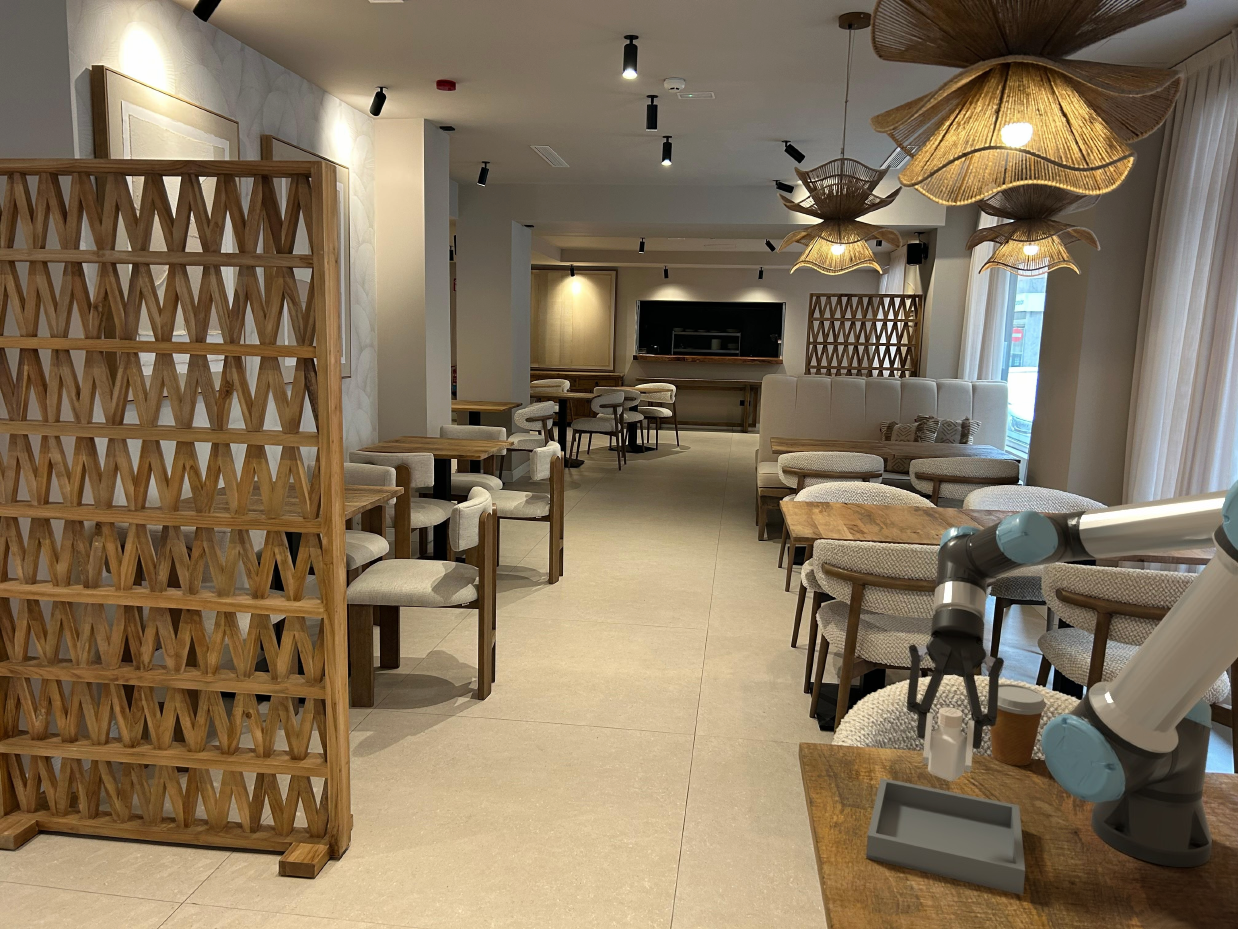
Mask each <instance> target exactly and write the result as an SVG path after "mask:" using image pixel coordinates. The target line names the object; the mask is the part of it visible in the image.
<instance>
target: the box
mask: <svg viewBox="0 0 1238 929" xmlns="http://www.w3.org/2000/svg"><path fill="white" fill-rule="evenodd" d="M1020 812H1021V811H1020V805H1018V804H1014V803H1008V802H1003V801H1000V800H999V801H998V800H995V799H994V800H993V799H989V798H983V797H978V796H973V795H970V794H969V795H968V794H964V793H959V792H953V791H947V790H943V789H938V788H933V787H927V786H924V785H919V784H914V783H909V782H908V783H907V782H904V781H898V780H894V779H888V778H883V777H880V780H879V785H878V788H877V791H876V797H875V800H874V807H873V810H872V813H871V814H872V815H871V817H870V818H871V819H870V822H869V827H868V831H867V837H866V838H867V840H866V854H865V855H866V856H865V859H866V860H867V859H868V860H872V861H876V862H879V863H883V864H888V865H892V866H893V865H894V866H897V867H901V868H905V869H909V870H915V871H918V872H923V873H926V874H931V875H936V876H940V877H944V878H949V879H952V880H957V881H960V882H966V883H969V884H974V885H977V886H978V885H979V886H982V887H986V888H987V887H988V888H992V889H994V890H995V889H996V890H1000V891H1003V892H1008V893H1013V894H1017V895H1021V896H1024V888H1025V878H1026V875H1025V874H1026V864H1025V855H1024V853H1025V852H1024V845H1023V844H1024V842H1023V835H1022V823H1021V813H1020Z"/></svg>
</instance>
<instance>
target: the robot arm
mask: <svg viewBox="0 0 1238 929" xmlns="http://www.w3.org/2000/svg"><path fill="white" fill-rule="evenodd" d="M1204 549H1215V550H1216V553H1215V554H1214V555H1213V556H1212V557H1211V559H1210V560H1209V561H1208V563H1207V564H1206V565H1205V566H1204V568H1202V570H1200V573H1199V574H1198V575H1197V576H1196V577H1195V579H1194V580H1193V581H1192V583H1191V584H1190V585H1189V586H1188V587H1187V589H1186V590H1185V591H1184V592H1183V594H1181V596H1180V597H1179V598H1178V600H1177V601H1176V602H1175V604H1174V605H1173V606H1172V607H1171V609H1170V610H1169V611H1168V612H1167V613H1166V615H1165V616H1164V617H1163V618H1162V620H1161V621H1160V622H1159V623H1158V624H1157V626H1156V627H1155V628H1154V630H1153V631H1152V632H1151V633H1150V634H1149V636H1148V637H1147V638H1146V639H1145V641H1144V642H1143V643H1142V645H1140V647H1139V648H1138V649H1137V650H1136V652H1135V653H1134V654H1133V656H1132V657H1131V658H1130V659H1129V660H1128V661H1127V663H1126V664H1125V665H1124V667H1122V669H1121V671H1119V673H1118V674H1117V676H1116V677H1115V678H1114V679H1113V681H1100V682H1096V683H1095V684H1093V686H1092V687H1090V688H1089V690H1088V691H1087V693H1085V695H1084V696H1083V697H1082V698H1081V699H1080V701H1079V702H1078V703H1077V705H1076V706H1075V707H1074V708H1073V709H1072V710H1071V711H1070V712H1069V713H1062V714H1059V715H1056V717H1054V718H1053V719H1051V720H1050V721H1048V723H1047V724H1046V725H1045V726H1044V728H1043V730H1042V733H1041V737H1040V738H1041V739H1040V747H1041V751H1042V753H1043V755H1044V762H1045V764H1046V768H1047V769H1048V770H1049V773H1050V774H1051V775H1052V777H1053V778H1054V780H1055V781H1056V782H1057V783H1058V785H1060V786H1061V787H1062V788H1063V789H1064V790H1065V791H1066V792H1068V793H1069V794H1070V795H1071V796H1073V797H1076V799H1079V800H1081V801H1085V802H1087V803H1088V802H1089V803H1094V805H1093V807H1092V810H1091V811H1092V813H1091V821H1090V822H1091V823H1090V825H1091V828H1092V829H1093V832H1094V833H1095V835H1097V837H1099V838H1100V839H1101V840H1102V841H1103V842H1105V843H1106V844H1107V845H1109V846H1111V847H1112V848H1114V849H1116V850H1118V851H1120V852H1121V853H1124V854H1125V855H1128V856H1130V857H1133V858H1136V859H1138V860H1142V861H1145V862H1147V863H1152V864H1156V865H1160V866H1167V867H1173V868H1174V867H1175V868H1193V867H1198V866H1202V865H1204V864H1206V863H1207V862H1208V861H1209V860H1210V859H1211V854H1212V846H1213V841H1212V840H1213V839H1212V835H1211V831H1210V827H1209V822H1208V819H1207V816H1206V811H1205V806H1204V804H1203V793H1204V792H1203V791H1204V785H1205V777H1206V769H1207V761H1208V760H1207V759H1208V753H1209V745H1210V736H1211V729H1212V728H1213V725H1212V707H1211V706H1210V704H1209V703H1208V701H1207V700H1205V699H1204V698H1203V697H1204V696H1205V694H1206V693H1207V692H1208V691H1209V690H1210V689H1211V688H1212V687H1213V685H1214V684H1215V683H1216V682H1217V681H1218V680H1219V679H1220V678H1221V676H1222V675H1223V674H1225V672H1226V671H1227V669H1229V667H1230V666H1231V665H1232V664H1234V662H1235V661H1236V660H1237V659H1238V479H1237V480H1236V481H1235V482H1234V483H1232V485H1231V486H1230V488H1229V489H1222V490H1216V491H1210V492H1209V491H1208V492H1203V493H1197V494H1190V495H1189V494H1188V495H1182V496H1176V497H1169V498H1160V499H1154V500H1148V501H1141V502H1133V503H1129V504H1128V503H1127V504H1121V505H1114V506H1113V505H1112V506H1107V507H1099V508H1093V509H1089V510H1079V511H1078V510H1077V511H1070V512H1063V513H1058V514H1057V513H1056V514H1050V515H1044V514H1043V513H1039V512H1037V510H1032V509H1031V510H1030V509H1029V510H1028V509H1027V510H1024V511H1020V512H1018V513H1015V514H1011V515H1008V516H1006V517H1005V518H1003V519H1002V520H1000V521H998V522H996V523H994V524H992V525H990V526H988V527H985V528H983V529H980V528H978V527H974V526H971V525H961V526H960V527H959V526H952V527H950V528H948V529H947V530H945V531H944V533H943V534H942V535H941V538H940V544H939V547H938V551H937V568H936V579H935V589H934V599H933V608H932V613H933V615H932V618H931V628H930V638H929V640H928V642H927V643H926V645H922V646H917V645H915V644H911V645H909V647H908V658H909V661H910V670H909V679H908V680H909V681H908V689H907V695H906V696H907V697H906V711H908V712H909V713H913V714H915V715H917V728H916V735H917V738H918V739H924V742H923V744H924V745H923V752H922V753H923V754H922V764H923V765H929V753H930V741H931V733H932V732H933V731H932V729H933V728H932V727H933V719H934V718H933V716H934V714H933V713H931V709H932V706H933V703H934V701H935V699H936V696H937V694H938V691H939V688H940V686H941V684H942V681H943V680H944V677H945V676H951V675H952V676H953V675H954V676H957V677H960V678H962V679H963V680H962V681H963V684H964V687H965V692H966V696H967V701H968V706H969V710H970V715H971V719H970V720H969V719H968V722H967V729H966V730H967V731H966V733H967V734H966V736H967V744H966V756H965V768H964V773H971V770H972V763H973V762H972V761H973V749H977V750H980V748H981V747H982V744H983V743H982V742H983V731H984V730H983V729H984V728H986V727H988V726H989V727H990V726H995V725H996V721H997V710H998V685H999V684H1000V682H999V681H1000V680H999V679H1000V676H1001V674H1002V672H1003V670H1004V663H1005V661H1004V658H1002V657H996V658H995V657H992V656H990V655H988V654H987V651H986V649H985V647H984V637H985V622H984V621H985V620H986V619H985V618H986V617H985V616H986V604H987V587H988V586H987V585H988V582H989V581H991V580H994V579H997V578H1000V577H1002V576H1004V575H1007V574H1009V573H1012V572H1014V571H1017V570H1020V569H1024V568H1030V567H1038V566H1044V565H1045V566H1046V565H1051V564H1056V563H1064V562H1065V563H1067V562H1073V561H1074V562H1075V561H1084V560H1085V561H1086V560H1095V559H1101V558H1103V559H1105V558H1114V557H1127V556H1137V555H1147V554H1159V553H1171V552H1180V551H1181V552H1182V551H1192V550H1204ZM926 655H927V656H928V657H929V658H930V660H931V661H932V663H933V664H934V666H935V667H934V669H933V672H932V675H931V677H930V679H929V681H928V685H927V688H926V690H925V693H924V694H923V697H922V700H921V702H917V700H918V699H917V698H918V689H919V680H920V671H921V670H920V669H921V668H920V667H921V662H923V661H924V660H925V656H926ZM983 664H984V665H985V666H986V667H985V670H986V672H988V673H989V678H988V679H989V680H988V690H987V691H988V692H987V693H988V698H987V710H986V713H983V710H982V706H981V705H982V704H981V702H980V697H979V693H978V687H977V683H976V679H975V671H976V670H977V669H978V668H979V667H981V665H983Z"/></svg>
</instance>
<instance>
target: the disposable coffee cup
mask: <svg viewBox="0 0 1238 929" xmlns="http://www.w3.org/2000/svg"><path fill="white" fill-rule="evenodd" d="M986 698H987V699H988V692H986ZM1046 708H1047V702H1045V697H1044V695H1043V694H1042V693H1041V692H1040V691H1038V690H1036V689H1034V688H1031V687H1028V686H1024V685H1021V684H1016V683H1014V684H1013V683H999V685H998V710H997V721H996V725H995V726H989V727H990V740H991V743H990V744H991V756H992V757H993V758H994V759H996V760H997V761H999V762H1001V763H1004V764H1007V765H1012V766H1019V767H1020V766H1026V765H1029V764H1030V763H1031V762H1032V758H1033V752H1034V749H1035V744H1036V741H1037V740H1036V739H1037V736H1038V733H1039V732H1038V731H1039V728H1040V727H1039V726H1040V723H1041V718H1042V714H1043V712H1044V711H1045V710H1046Z"/></svg>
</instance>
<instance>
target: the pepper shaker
mask: <svg viewBox="0 0 1238 929" xmlns="http://www.w3.org/2000/svg"><path fill="white" fill-rule="evenodd" d="M963 718H964V713H963V712H962V711H961V710H958V709H957V708H952V707H941V708H939V710H938V721H937V722H938V727H937V728H936V729H934V730H933V731H931V741H930V753H929V764H927V765H928V766H927V767H928V768H927V771H928V773H930V774H931V775H933V776H935V777H938V778H941V779H943V780H945V781H948V782H955V781H956V780H957V779H959V778H961V777H962V776H963V775H964V773H965V759H966V744H967V734H965V733H963V732H962V727H963V720H964V719H963Z"/></svg>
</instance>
